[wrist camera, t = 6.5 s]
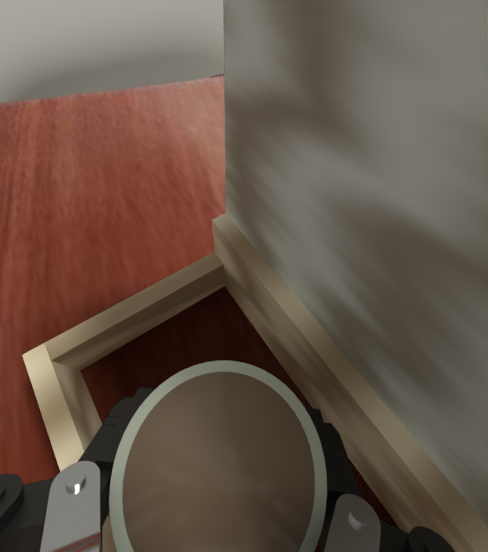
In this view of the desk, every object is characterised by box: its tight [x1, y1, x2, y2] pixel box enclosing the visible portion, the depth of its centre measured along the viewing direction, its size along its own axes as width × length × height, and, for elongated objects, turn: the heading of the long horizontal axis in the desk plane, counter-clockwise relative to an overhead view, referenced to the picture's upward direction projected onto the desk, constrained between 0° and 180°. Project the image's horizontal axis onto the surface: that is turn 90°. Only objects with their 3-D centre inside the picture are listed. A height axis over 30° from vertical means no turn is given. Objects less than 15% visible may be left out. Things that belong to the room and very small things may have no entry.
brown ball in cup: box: [109, 361, 327, 552], centre depth 12 cm, size 6×6×8 cm
